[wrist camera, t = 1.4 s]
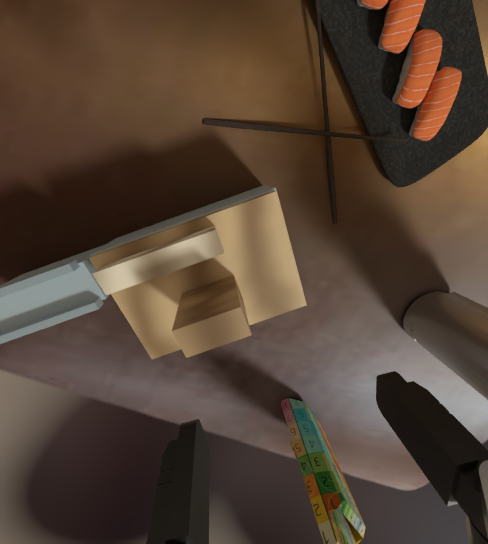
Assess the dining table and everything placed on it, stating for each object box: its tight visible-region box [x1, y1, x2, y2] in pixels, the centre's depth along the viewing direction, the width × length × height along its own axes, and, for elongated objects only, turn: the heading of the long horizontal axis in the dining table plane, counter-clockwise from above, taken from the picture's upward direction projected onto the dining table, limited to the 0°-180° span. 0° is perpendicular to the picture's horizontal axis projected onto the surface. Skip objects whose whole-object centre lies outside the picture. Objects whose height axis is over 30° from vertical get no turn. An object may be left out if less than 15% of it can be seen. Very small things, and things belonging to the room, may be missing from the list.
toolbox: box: [0, 185, 276, 344], centre depth 30 cm, size 33×14×9 cm, turn 108°
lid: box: [89, 191, 306, 359], centre depth 24 cm, size 20×14×8 cm
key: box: [92, 226, 224, 295], centre depth 24 cm, size 12×2×2 cm, turn 108°
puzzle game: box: [281, 398, 365, 544], centre depth 38 cm, size 12×5×20 cm, turn 30°
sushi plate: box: [202, 0, 488, 224], centre depth 27 cm, size 29×30×4 cm
